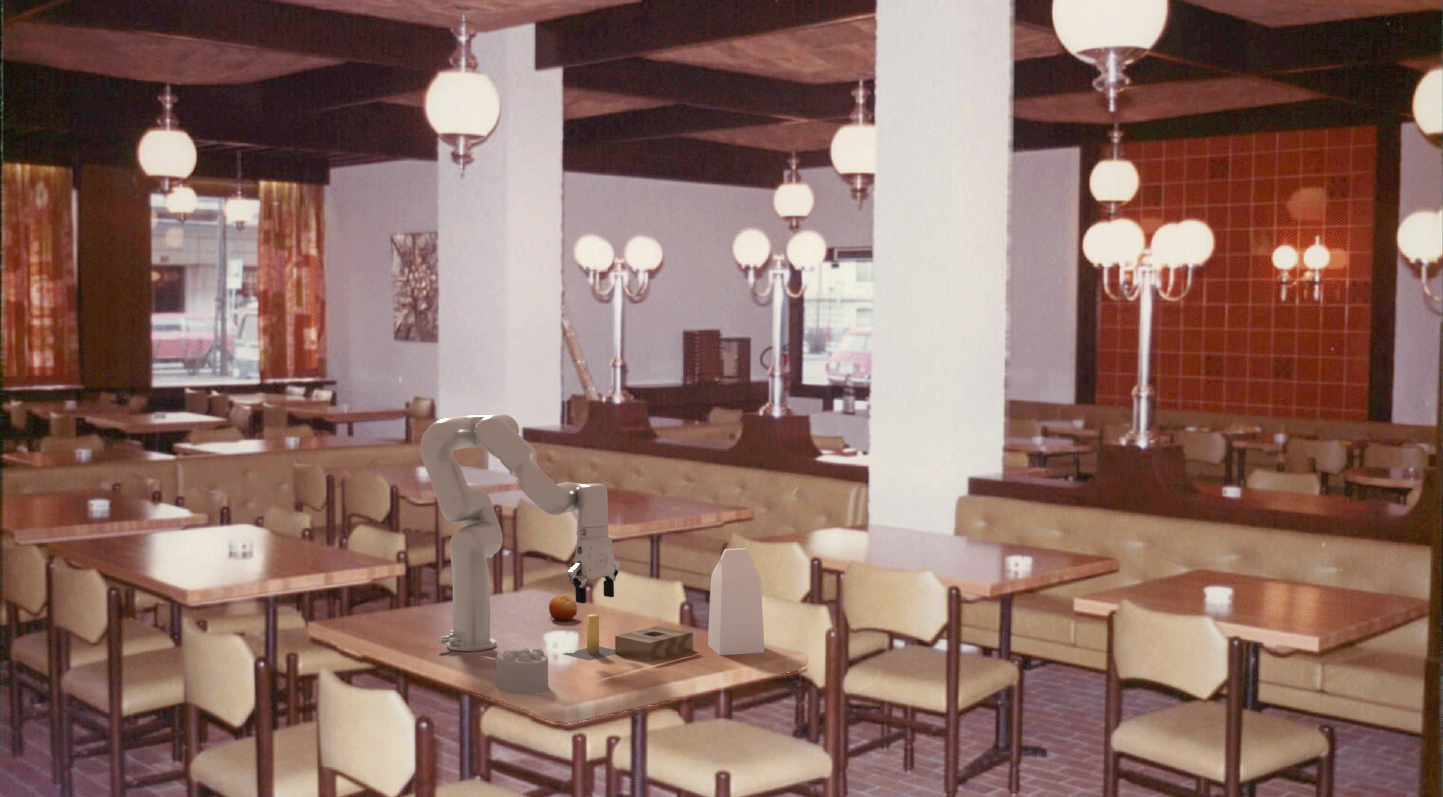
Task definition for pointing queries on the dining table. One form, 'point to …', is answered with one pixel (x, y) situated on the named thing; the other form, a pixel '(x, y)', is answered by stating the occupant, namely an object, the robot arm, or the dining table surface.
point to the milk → (735, 605)
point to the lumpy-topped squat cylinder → (522, 671)
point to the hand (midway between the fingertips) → (595, 599)
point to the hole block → (653, 643)
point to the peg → (593, 634)
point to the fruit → (562, 608)
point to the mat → (586, 656)
